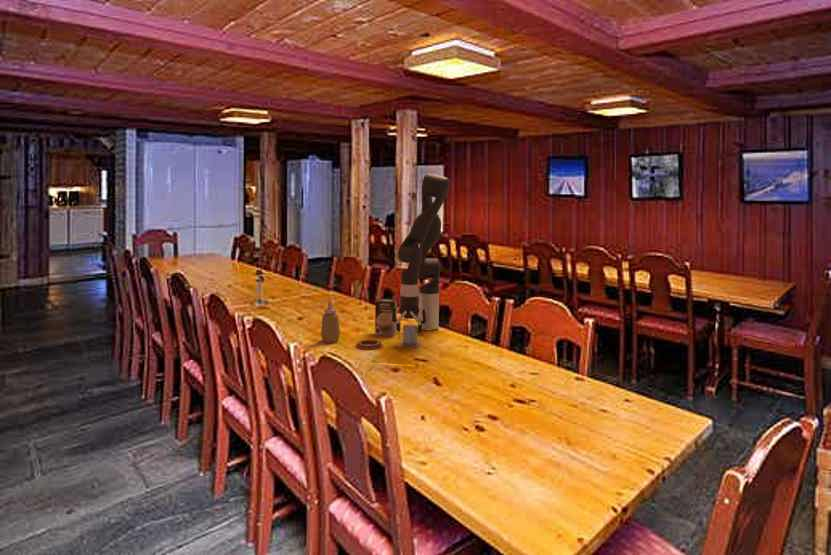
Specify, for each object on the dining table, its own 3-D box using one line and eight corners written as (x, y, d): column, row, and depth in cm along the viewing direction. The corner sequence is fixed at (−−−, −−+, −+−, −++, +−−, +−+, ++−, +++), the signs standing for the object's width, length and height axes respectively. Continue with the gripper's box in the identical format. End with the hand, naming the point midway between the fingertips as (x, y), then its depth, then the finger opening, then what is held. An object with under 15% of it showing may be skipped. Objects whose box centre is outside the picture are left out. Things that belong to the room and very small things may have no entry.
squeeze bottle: (336, 345, 231) (335, 303, 229) (318, 344, 233) (317, 302, 230) (342, 340, 239) (342, 299, 236) (325, 339, 241) (324, 298, 238)
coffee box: (374, 336, 246) (374, 301, 244) (376, 332, 253) (376, 298, 250) (394, 337, 246) (395, 301, 243) (396, 333, 252) (396, 298, 249)
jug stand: (359, 342, 236) (359, 337, 236) (386, 344, 234) (386, 339, 233) (350, 350, 224) (350, 345, 224) (379, 352, 222) (379, 347, 222)
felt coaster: (401, 342, 237) (401, 341, 237) (422, 343, 236) (422, 342, 236) (397, 348, 228) (397, 346, 228) (418, 349, 227) (418, 348, 227)
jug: (404, 342, 235) (404, 324, 234) (417, 343, 234) (418, 324, 233) (399, 349, 225) (399, 330, 223) (413, 350, 224) (414, 331, 222)
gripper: (390, 295, 226) (390, 333, 229) (424, 296, 224) (424, 335, 226) (394, 291, 234) (394, 329, 236) (428, 293, 231) (427, 331, 234)
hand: (409, 332), depth 231 cm, fingers open, 8 cm apart
